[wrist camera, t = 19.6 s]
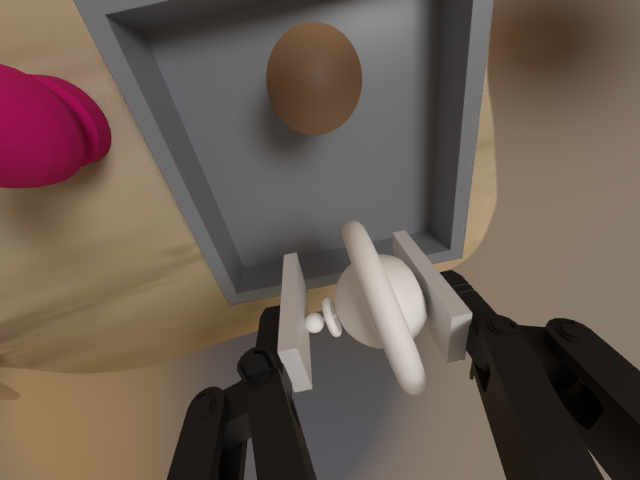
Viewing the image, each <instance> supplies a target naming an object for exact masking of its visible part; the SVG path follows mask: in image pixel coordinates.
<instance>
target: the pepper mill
mask: <svg viewBox="0 0 640 480" xmlns="http://www.w3.org/2000/svg"><path fill="white" fill-rule="evenodd" d="M110 138H111V137H110V131H109V126H108V123H107V121H106V118H105V116H104V115H103V113H102V111H101V110H100V108H99V107H98V105H97V104H96V103H95V102H94V101H93V100H92V99H91V98H90V97H89V96H88V95H87V94H86V93H85V92H84V91H82V90H81V89H80V88H78V87H76V86H75V85H73V84H71V83H69V82H68V81H65V80H63V79H60V78H56V77H53V76H46V75H33V74H25V73H23V72H21V71H19V70H17V69H15V68H12V67H9V66H5V65H2V64H0V187H3V188H35V187H41V186H46V185H50V184H54V183H58V182H62V181H64V180H66V179H68V178H70V177H71V176H73V175H74V174H75V173H76V172H77V171H78V170H79V168H80V167H81V166H84V165H87V164H90V163H93V162H95V161H98V160H99V159H101V158H102V157H103V156H104V155H105V154H106V152H107V151H108V149H109V145H110Z"/></svg>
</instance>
